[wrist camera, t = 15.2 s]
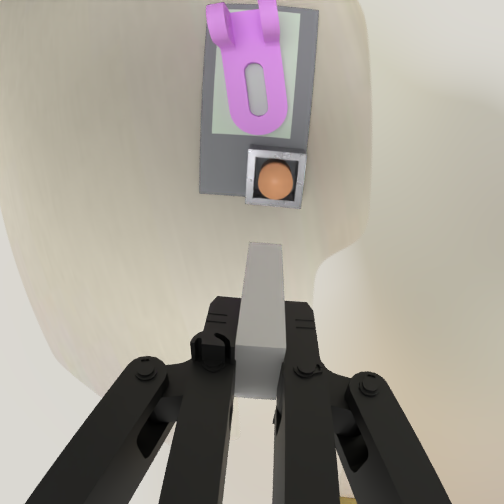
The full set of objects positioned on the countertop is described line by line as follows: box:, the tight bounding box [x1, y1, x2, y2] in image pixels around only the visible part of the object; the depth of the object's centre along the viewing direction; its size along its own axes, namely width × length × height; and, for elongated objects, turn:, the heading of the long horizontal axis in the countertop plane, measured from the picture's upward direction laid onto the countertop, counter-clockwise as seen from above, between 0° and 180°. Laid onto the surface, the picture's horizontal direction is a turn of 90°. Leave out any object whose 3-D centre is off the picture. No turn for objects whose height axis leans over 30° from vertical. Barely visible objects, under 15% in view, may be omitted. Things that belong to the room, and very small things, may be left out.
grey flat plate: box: [199, 4, 319, 197], centre depth 29 cm, size 21×11×1 cm, turn 176°
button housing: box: [245, 144, 307, 209], centre depth 32 cm, size 6×6×3 cm
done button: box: [258, 158, 293, 200], centre depth 31 cm, size 3×3×4 cm
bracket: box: [206, 0, 288, 135], centre depth 25 cm, size 13×6×7 cm, turn 7°
